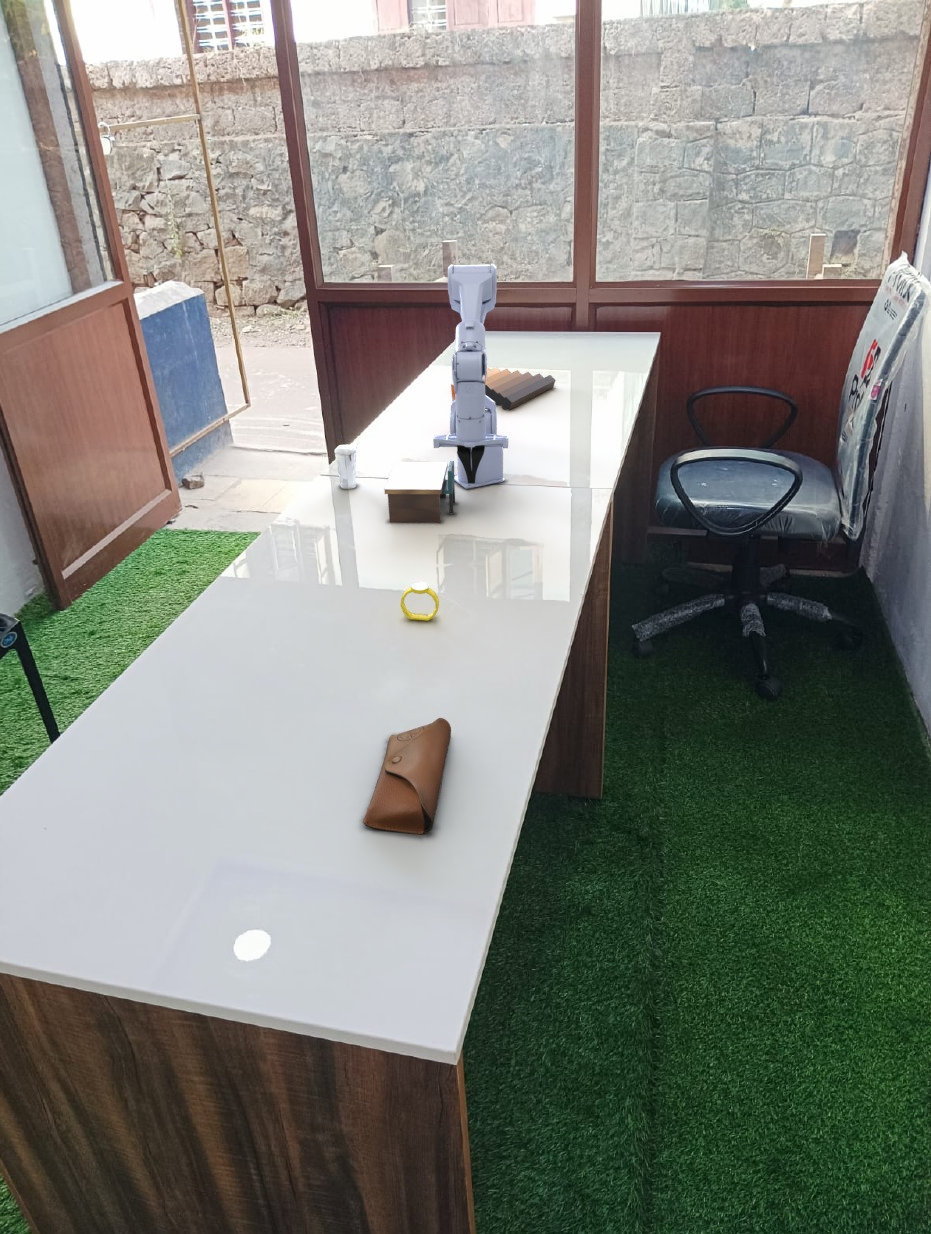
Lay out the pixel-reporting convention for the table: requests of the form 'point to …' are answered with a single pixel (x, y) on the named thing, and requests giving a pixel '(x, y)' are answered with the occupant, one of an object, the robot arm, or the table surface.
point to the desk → (416, 492)
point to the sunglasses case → (410, 780)
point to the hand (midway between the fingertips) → (471, 481)
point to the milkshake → (346, 465)
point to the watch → (419, 589)
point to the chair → (450, 486)
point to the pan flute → (514, 386)
